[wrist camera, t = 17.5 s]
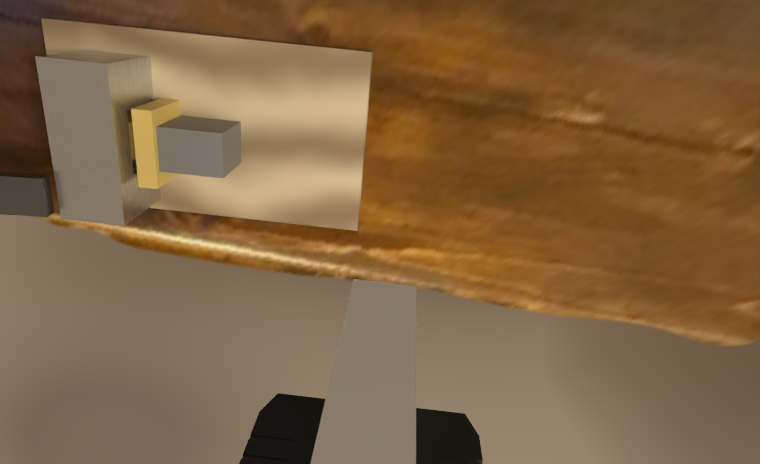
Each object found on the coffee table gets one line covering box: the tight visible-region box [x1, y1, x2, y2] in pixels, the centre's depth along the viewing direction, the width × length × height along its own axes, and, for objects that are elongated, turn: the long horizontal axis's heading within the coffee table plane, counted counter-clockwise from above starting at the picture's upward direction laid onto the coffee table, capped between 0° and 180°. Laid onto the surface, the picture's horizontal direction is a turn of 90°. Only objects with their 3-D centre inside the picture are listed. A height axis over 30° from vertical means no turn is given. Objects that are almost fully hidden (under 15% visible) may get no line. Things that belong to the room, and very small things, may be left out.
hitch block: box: [35, 50, 161, 226], centre depth 41 cm, size 12×5×6 cm, turn 175°
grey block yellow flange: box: [127, 98, 241, 189], centre depth 41 cm, size 6×14×5 cm, turn 85°
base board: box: [41, 18, 373, 231], centre depth 44 cm, size 15×26×1 cm, turn 85°
